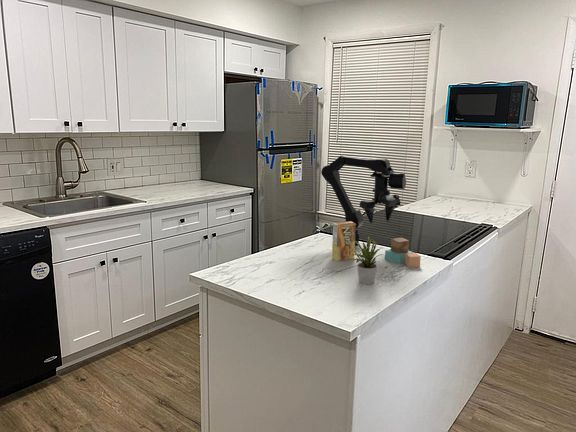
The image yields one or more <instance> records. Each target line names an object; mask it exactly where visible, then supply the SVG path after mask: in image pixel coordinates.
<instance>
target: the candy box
mask: <svg viewBox="0 0 576 432" xmlns="http://www.w3.org/2000/svg"><path fill="white" fill-rule="evenodd" d="M355 231H356V223H354V222H351V221H350V222H346V221H345V222H344V221H343V222H336V223H335V222H333V223H332V241H331V242H332V244H331V245H332V247H331V254H332V255H331V258H332V260H334V261H336V262H340V261H345V260H346V261H347V260H353V259H355V255H352V254H355V253H354V252H356V245H355V241H354V240H355ZM352 239H353V240H352ZM352 245H353V246H352ZM354 247H355V248H354ZM353 251H354V252H353ZM351 255H352V256H351Z"/></svg>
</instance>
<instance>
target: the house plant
mask: <svg viewBox="0 0 576 432" xmlns="http://www.w3.org/2000/svg"><path fill="white" fill-rule="evenodd" d="M352 240H353V239H352ZM354 241H355V240H354ZM355 242H356V243H357V244H358V245H357V246H358V247H356V246H355V247H354V248H355V250H357V251H358V253H357V252H356V251H355V252H354V251H353V252H354V254H352V255H354V256H356V257H354V258H353V259H352V262H354V261H356V264H357V273H358V281H359V283H360V284H363V285H372V284H375V278H376V274H377V269H378V265H377V264H376V263H380V261H379V260H378V261H376V260H377V259H376V258H377V257H380V256H384V253H382V254H377V253H378V251H380V249H382V248H383V247H384V245H383V246H381V247H380V248H377V242H375V240H373V238H371V239H370V236H368V237H367V241H366V244H365V242H364V241H363V242H362V246H361V244H360V242H359V243H358V242H357V241H355ZM371 244H372V245H371ZM352 246H353V245H352ZM376 248H377V249H376ZM375 249H376V250H375ZM376 254H377V255H376ZM352 255H351V256H352Z"/></svg>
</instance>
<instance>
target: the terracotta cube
mask: <svg viewBox="0 0 576 432" xmlns="http://www.w3.org/2000/svg"><path fill="white" fill-rule="evenodd" d="M404 265H405V266H407V267H408V268H420V267H421V255H420V254H418V253H417V252H413V253H405V263H404Z"/></svg>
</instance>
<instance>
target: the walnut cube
mask: <svg viewBox="0 0 576 432" xmlns="http://www.w3.org/2000/svg"><path fill="white" fill-rule="evenodd" d="M390 242H391V244H390V249H391V251H393V252H396V253H398V254H400V253H407V252H408V251H409V246H410V245H409V244H410V240H408V239H406V238H404V237H395V238H391V240H390Z"/></svg>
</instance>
